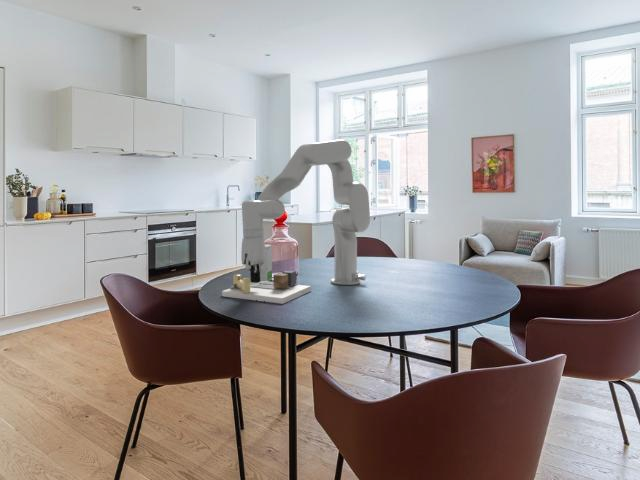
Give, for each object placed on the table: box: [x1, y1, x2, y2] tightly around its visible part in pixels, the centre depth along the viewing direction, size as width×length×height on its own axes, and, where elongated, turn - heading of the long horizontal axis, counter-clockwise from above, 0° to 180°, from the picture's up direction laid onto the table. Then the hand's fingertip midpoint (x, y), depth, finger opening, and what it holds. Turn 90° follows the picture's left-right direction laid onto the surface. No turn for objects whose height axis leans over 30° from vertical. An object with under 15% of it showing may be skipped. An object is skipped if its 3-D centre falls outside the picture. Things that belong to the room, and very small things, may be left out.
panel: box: [221, 281, 312, 305], centre depth 179 cm, size 27×22×2 cm
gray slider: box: [281, 270, 297, 286], centre depth 183 cm, size 4×4×5 cm
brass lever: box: [232, 273, 251, 293], centre depth 175 cm, size 14×3×5 cm, turn 27°
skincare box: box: [259, 244, 273, 282], centre depth 202 cm, size 8×7×16 cm
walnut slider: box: [272, 272, 288, 289], centre depth 177 cm, size 4×4×5 cm
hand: (255, 282), depth 175 cm, fingers closed
